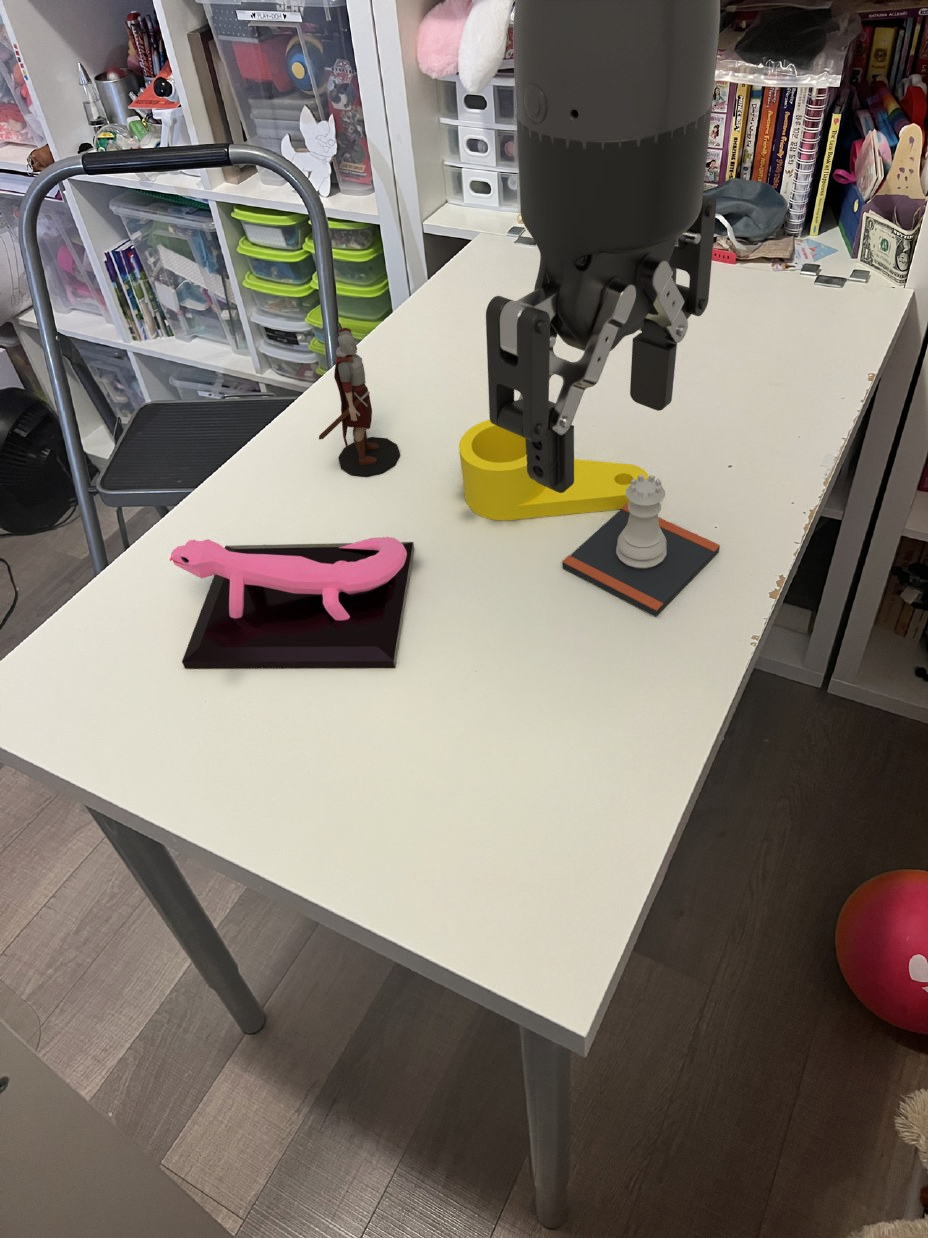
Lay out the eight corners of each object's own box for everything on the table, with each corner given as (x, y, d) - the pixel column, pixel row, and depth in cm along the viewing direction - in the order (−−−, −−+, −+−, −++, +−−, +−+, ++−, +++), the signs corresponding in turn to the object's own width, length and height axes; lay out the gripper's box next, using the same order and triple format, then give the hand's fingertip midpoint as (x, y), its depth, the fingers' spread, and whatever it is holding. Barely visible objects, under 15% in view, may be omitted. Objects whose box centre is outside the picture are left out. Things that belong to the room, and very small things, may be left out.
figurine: (398, 475, 91) (373, 344, 81) (329, 479, 92) (295, 350, 81) (402, 436, 96) (380, 307, 85) (336, 441, 97) (306, 313, 86)
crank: (460, 520, 86) (453, 470, 81) (469, 466, 91) (464, 417, 87) (649, 521, 83) (653, 470, 79) (647, 466, 89) (650, 415, 84)
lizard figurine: (213, 552, 86) (189, 493, 81) (416, 548, 84) (405, 487, 78) (168, 668, 76) (138, 610, 71) (397, 668, 74) (383, 607, 68)
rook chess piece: (605, 557, 79) (607, 487, 73) (635, 530, 81) (639, 460, 75) (647, 579, 77) (652, 508, 71) (676, 551, 79) (684, 479, 73)
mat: (719, 552, 79) (720, 544, 79) (655, 617, 75) (656, 610, 74) (626, 509, 85) (627, 502, 84) (562, 568, 80) (562, 561, 79)
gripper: (578, 180, 29) (578, 546, 41) (794, 53, 35) (740, 400, 47) (416, 141, 33) (458, 486, 45) (638, 33, 39) (623, 359, 51)
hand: (603, 441), depth 46 cm, fingers open, 8 cm apart
